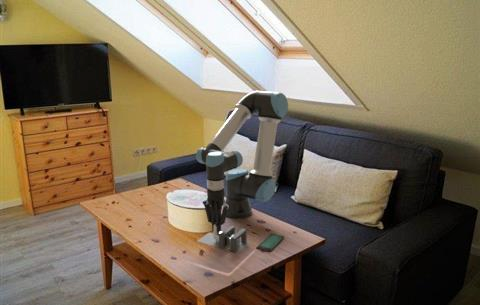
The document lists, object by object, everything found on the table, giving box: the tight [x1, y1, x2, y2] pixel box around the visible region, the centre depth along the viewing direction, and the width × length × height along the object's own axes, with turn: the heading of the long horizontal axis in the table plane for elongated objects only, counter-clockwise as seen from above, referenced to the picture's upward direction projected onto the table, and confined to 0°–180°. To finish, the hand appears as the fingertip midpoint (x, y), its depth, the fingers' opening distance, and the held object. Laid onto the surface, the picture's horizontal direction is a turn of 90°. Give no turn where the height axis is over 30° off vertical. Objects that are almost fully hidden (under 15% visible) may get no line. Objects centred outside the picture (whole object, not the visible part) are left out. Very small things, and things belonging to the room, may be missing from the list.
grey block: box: [215, 230, 241, 247], centre depth 173 cm, size 10×4×4 cm, turn 60°
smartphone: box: [255, 233, 285, 253], centre depth 176 cm, size 7×1×15 cm
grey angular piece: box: [196, 225, 251, 254], centre depth 174 cm, size 10×22×7 cm, turn 60°
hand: (216, 237), depth 176 cm, fingers closed
